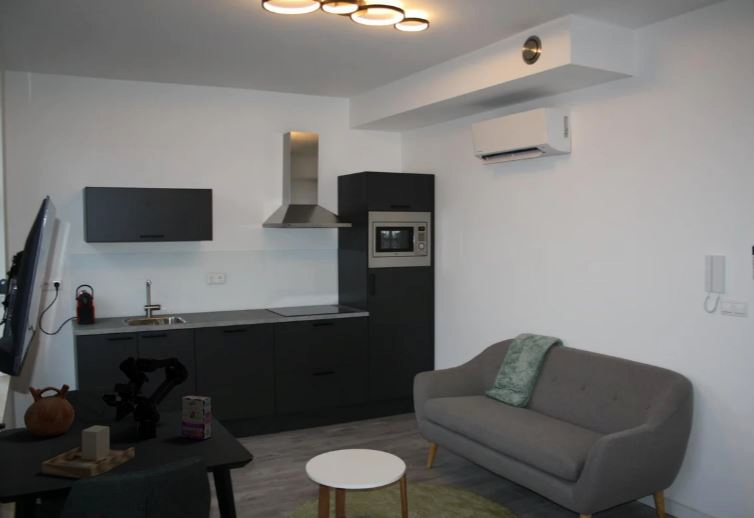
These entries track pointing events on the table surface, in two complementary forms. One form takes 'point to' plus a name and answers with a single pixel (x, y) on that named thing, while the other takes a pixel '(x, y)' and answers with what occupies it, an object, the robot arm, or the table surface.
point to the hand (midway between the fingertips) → (116, 421)
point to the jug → (49, 413)
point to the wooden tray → (85, 463)
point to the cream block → (95, 442)
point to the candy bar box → (196, 417)
